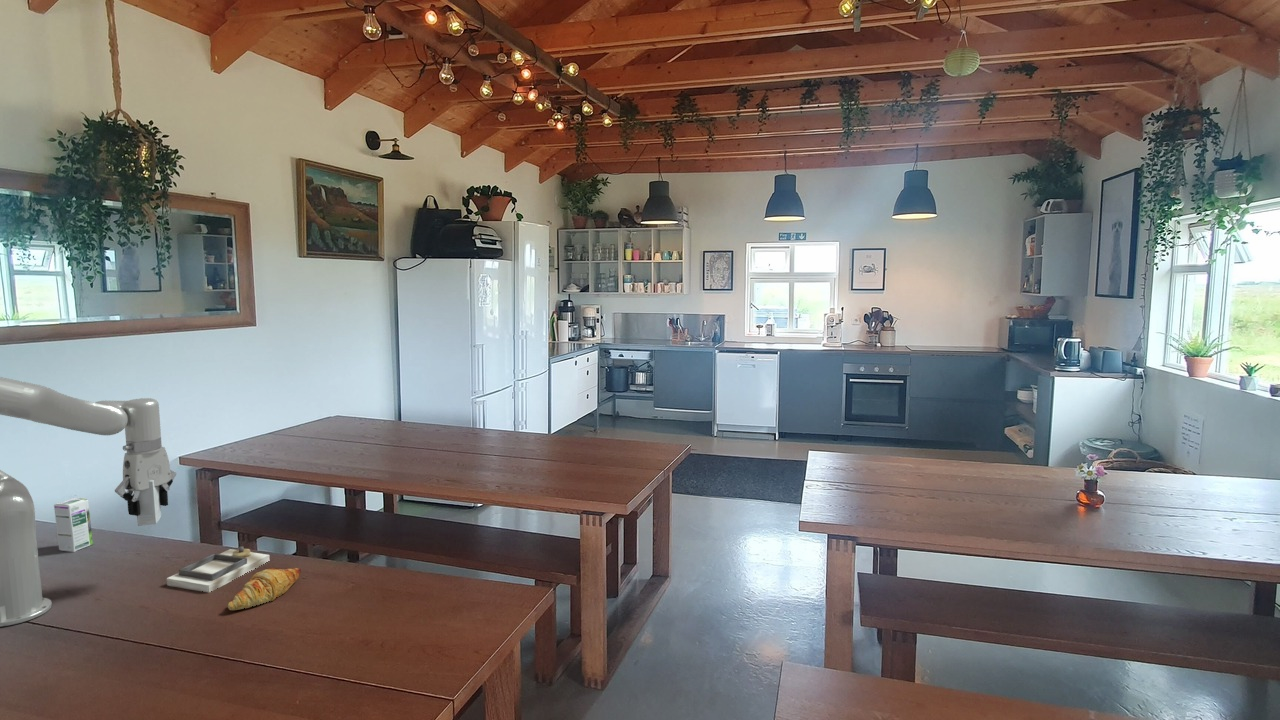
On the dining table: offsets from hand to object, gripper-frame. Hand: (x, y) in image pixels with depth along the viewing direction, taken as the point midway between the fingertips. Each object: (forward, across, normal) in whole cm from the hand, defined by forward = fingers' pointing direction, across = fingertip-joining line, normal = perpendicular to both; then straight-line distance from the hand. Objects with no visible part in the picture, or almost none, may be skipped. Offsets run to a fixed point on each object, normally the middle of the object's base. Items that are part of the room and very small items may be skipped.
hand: (148, 509), depth 179 cm
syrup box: (+20, +9, +41) cm, 47 cm away
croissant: (+20, +1, -36) cm, 41 cm away
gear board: (+20, +8, -14) cm, 25 cm away
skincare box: (+4, 0, 0) cm, 4 cm away
